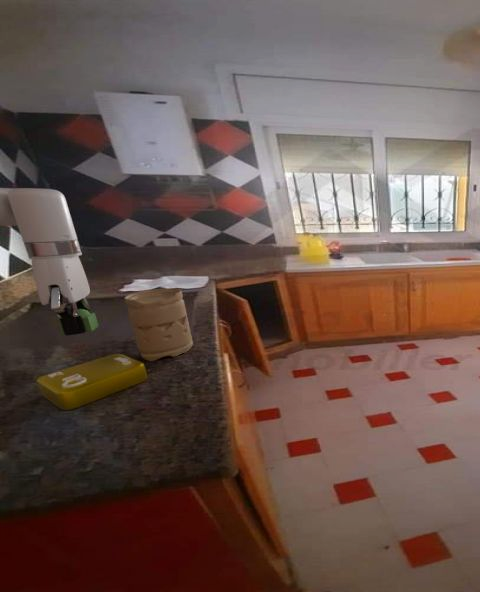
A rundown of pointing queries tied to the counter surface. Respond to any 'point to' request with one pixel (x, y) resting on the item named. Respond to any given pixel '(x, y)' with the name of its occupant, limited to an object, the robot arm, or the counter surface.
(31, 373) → the counter surface
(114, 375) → the element tile
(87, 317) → the toy
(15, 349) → the counter surface
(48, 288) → the robot arm
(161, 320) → the container
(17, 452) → the counter surface
